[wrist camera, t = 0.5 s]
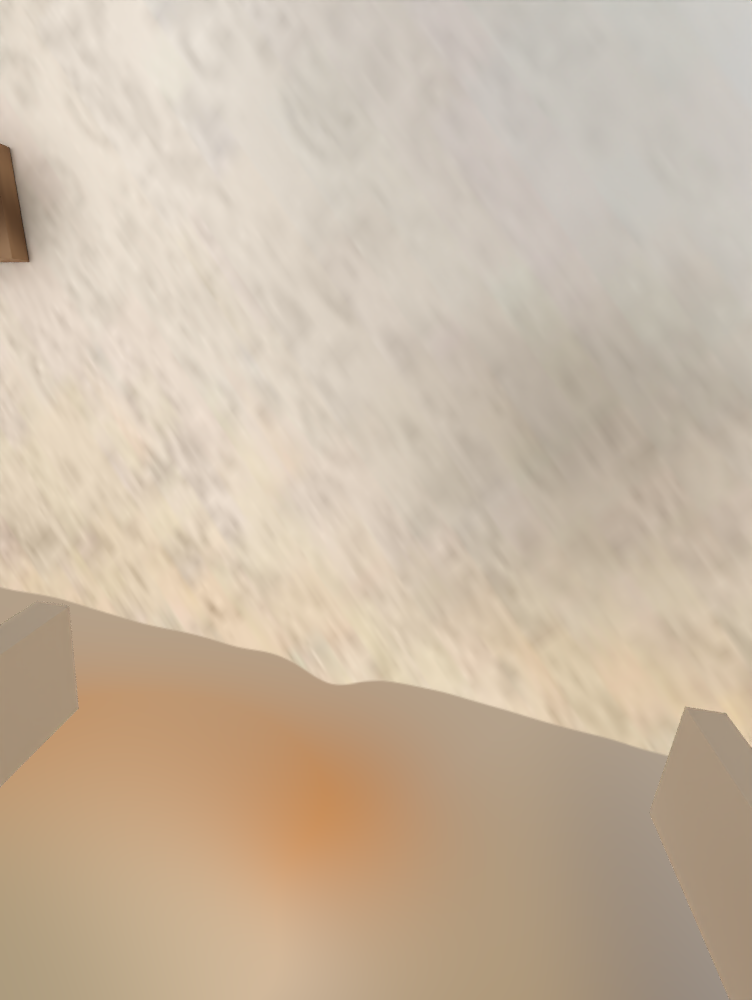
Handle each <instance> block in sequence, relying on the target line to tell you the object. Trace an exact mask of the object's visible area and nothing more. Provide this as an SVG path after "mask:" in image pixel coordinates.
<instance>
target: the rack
mask: <svg viewBox="0 0 752 1000" xmlns="http://www.w3.org/2000/svg"><path fill="white" fill-rule="evenodd" d="M0 262H29V259H28V253H27V248H26V242H25V236H24V230H23V224H22V219H21V213H20V207H19V201H18V196H17V190H16V184H15V178H14V173H13V167H12V161H11V155H10V149H9V147H7V146H5V145H2V144H0Z"/></svg>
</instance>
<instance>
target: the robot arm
mask: <svg viewBox="0 0 752 1000" xmlns="http://www.w3.org/2000/svg"><path fill="white" fill-rule="evenodd" d="M75 675H76V674H75V664H74V652H73V641H72V630H71V620H70V609H69V606H66V605H60V604H54V603H48V602H41V601H36V602H35V603H33V604H31V605H30V606H29V607H27V608H25V609H24V610H22V611H21V612H19V613H17V614H16V615H14V616H13V617H11V618H10V619H8V620H6V621H5V622H3V623H2V624H0V787H1V786H2V785H3V784H4V783H5V782H6V781H7V780H8V779H9V778H10V777H11V776H12V775H13V774H14V773H15V772H16V771H17V770H18V769H19V768H20V767H21V765H23V764H24V763H25V762H26V761H27V760H28V759H29V757H31V756H32V755H33V754H34V753H35V752H36V751H37V749H39V748H40V747H41V746H42V745H43V744H44V743H45V742H46V740H48V739H49V738H50V737H51V736H52V735H53V734H54V733H55V732H56V731H57V730H58V729H59V728H60V727H61V726H62V725H63V724H64V723H65V722H66V721H67V719H69V718H70V717H71V716H72V715H73V714H74V712H76V710H77V709H78V698H77V697H78V696H77V686H76V676H75ZM649 813H650V816H651V818H652V820H653V823H654V825H655V827H656V829H657V832H658V834H659V837H660V839H661V841H662V844H663V846H664V848H665V851H666V853H667V855H668V858H669V860H670V862H671V864H672V867H673V869H674V871H675V874H676V876H677V879H678V881H679V883H680V886H681V888H682V890H683V893H684V895H685V897H686V900H687V902H688V904H689V907H690V909H691V911H692V913H693V916H694V918H695V921H696V923H697V925H698V927H699V930H700V932H701V935H702V937H703V939H704V941H705V944H706V946H707V949H708V951H709V953H710V956H711V958H712V960H713V962H714V965H715V967H716V969H717V972H718V974H719V976H720V979H721V981H722V983H723V986H724V988H725V990H726V993H727V995H728V997H729V1000H752V748H751V746H750V745H749V744H748V742H747V741H746V740H745V738H744V737H743V736H742V734H741V733H740V732H739V730H738V729H737V728H736V726H735V725H734V724H733V722H732V721H731V720H730V718H729V717H728V716H727V714H726V713H721V712H715V711H709V710H703V709H696V708H690V707H685V709H684V712H683V715H682V718H681V721H680V724H679V726H678V729H677V732H676V735H675V738H674V741H673V744H672V747H671V750H670V753H669V756H668V759H667V762H666V765H665V768H664V771H663V773H662V776H661V779H660V783H659V785H658V788H657V791H656V794H655V797H654V800H653V803H652V806H651V809H650V812H649Z"/></svg>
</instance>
